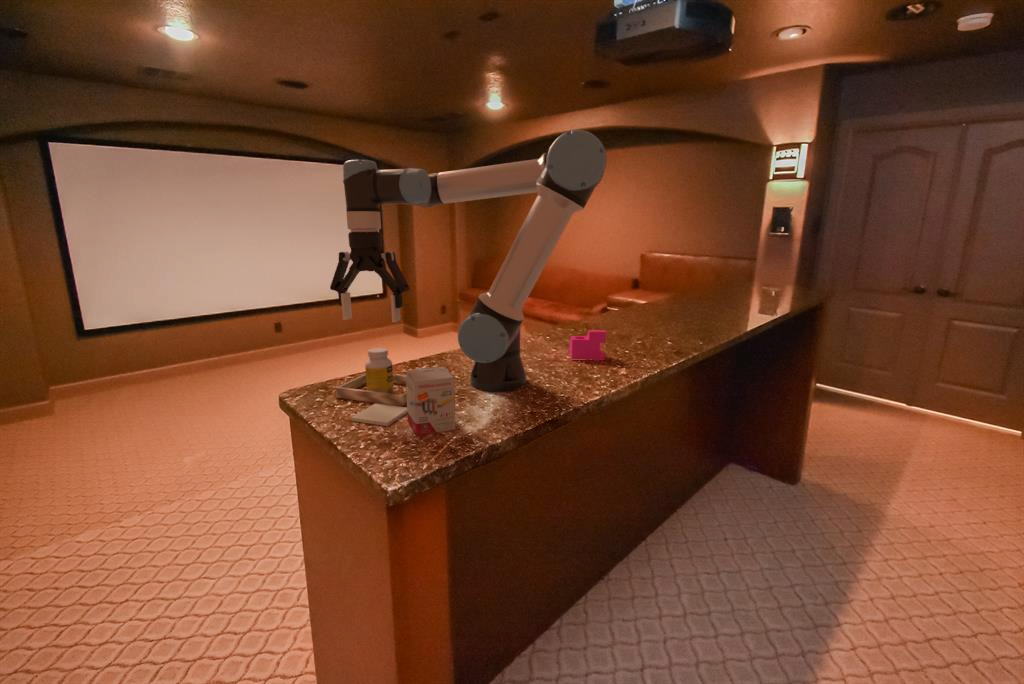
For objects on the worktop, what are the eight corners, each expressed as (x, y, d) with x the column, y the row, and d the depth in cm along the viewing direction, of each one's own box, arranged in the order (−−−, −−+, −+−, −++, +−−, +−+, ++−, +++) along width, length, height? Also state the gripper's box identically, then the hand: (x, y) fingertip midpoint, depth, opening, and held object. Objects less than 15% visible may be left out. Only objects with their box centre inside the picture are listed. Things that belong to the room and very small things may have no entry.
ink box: (415, 436, 96) (413, 380, 93) (407, 421, 103) (404, 368, 101) (456, 429, 99) (455, 375, 96) (445, 415, 107) (444, 364, 104)
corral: (431, 387, 125) (430, 378, 125) (402, 406, 112) (401, 396, 111) (370, 380, 131) (369, 371, 130) (335, 397, 117) (335, 387, 117)
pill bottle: (386, 400, 116) (384, 354, 113) (362, 398, 117) (359, 352, 114) (398, 391, 122) (395, 347, 119) (374, 389, 123) (372, 346, 121)
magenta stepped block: (604, 364, 149) (606, 332, 146) (571, 363, 149) (572, 331, 147) (599, 354, 160) (600, 324, 158) (568, 353, 161) (569, 324, 158)
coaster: (409, 411, 109) (409, 407, 109) (387, 426, 100) (387, 422, 100) (375, 406, 112) (375, 403, 111) (351, 420, 103) (351, 417, 103)
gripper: (420, 230, 111) (425, 319, 116) (329, 231, 118) (337, 315, 123) (404, 230, 104) (410, 325, 109) (309, 231, 111) (318, 320, 116)
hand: (371, 320), depth 116 cm, fingers open, 13 cm apart
